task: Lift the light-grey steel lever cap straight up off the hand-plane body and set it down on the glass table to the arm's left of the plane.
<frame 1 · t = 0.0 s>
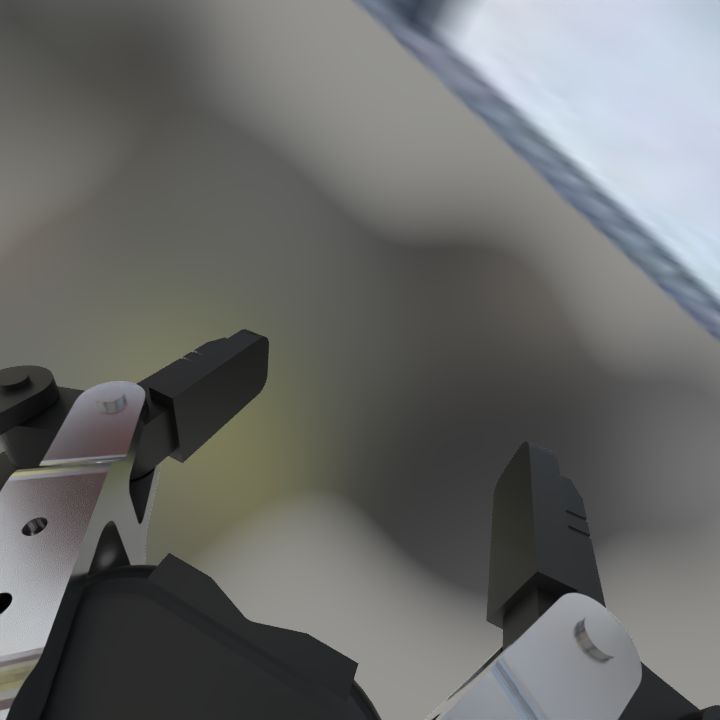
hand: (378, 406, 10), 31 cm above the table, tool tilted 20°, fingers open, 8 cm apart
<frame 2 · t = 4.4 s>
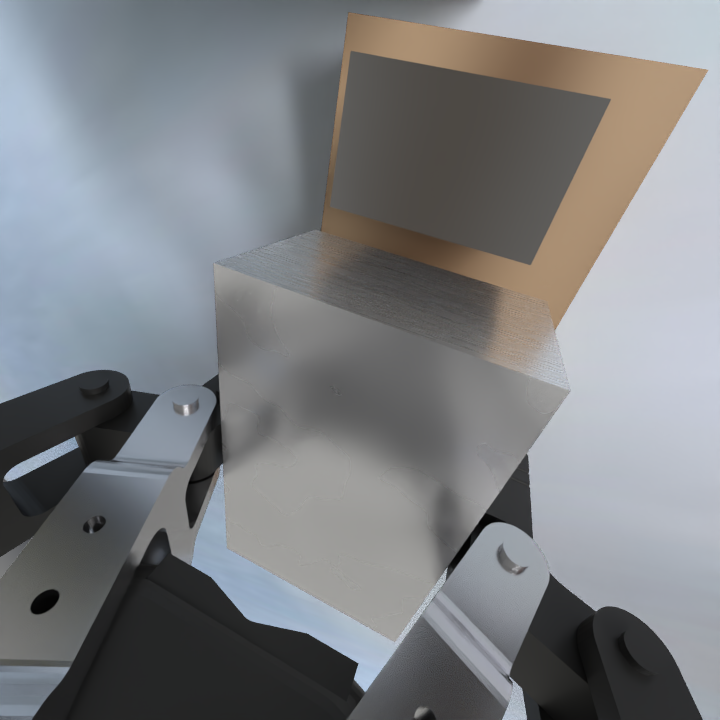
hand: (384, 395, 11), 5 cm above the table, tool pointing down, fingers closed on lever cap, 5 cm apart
plane body: (409, 365, 16), on the table
lever cap: (378, 408, 10), point 6 cm above the table, touching gripper, plane body
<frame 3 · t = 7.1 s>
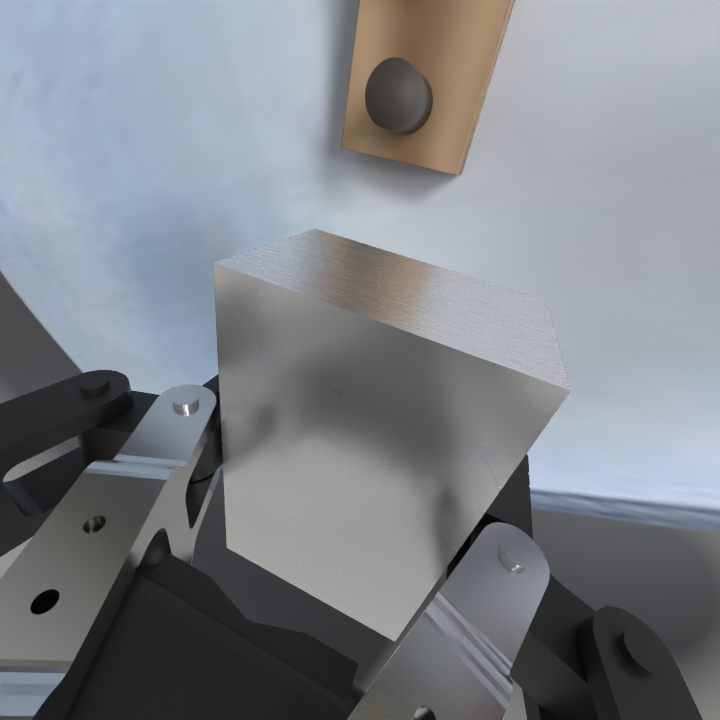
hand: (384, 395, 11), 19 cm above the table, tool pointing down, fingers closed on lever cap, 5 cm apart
lever cap: (378, 407, 10), point 20 cm above the table, touching gripper
when the fingers open (2 cm above the table, at t = 9.7 s): lever cap drops 3 cm, on the table.
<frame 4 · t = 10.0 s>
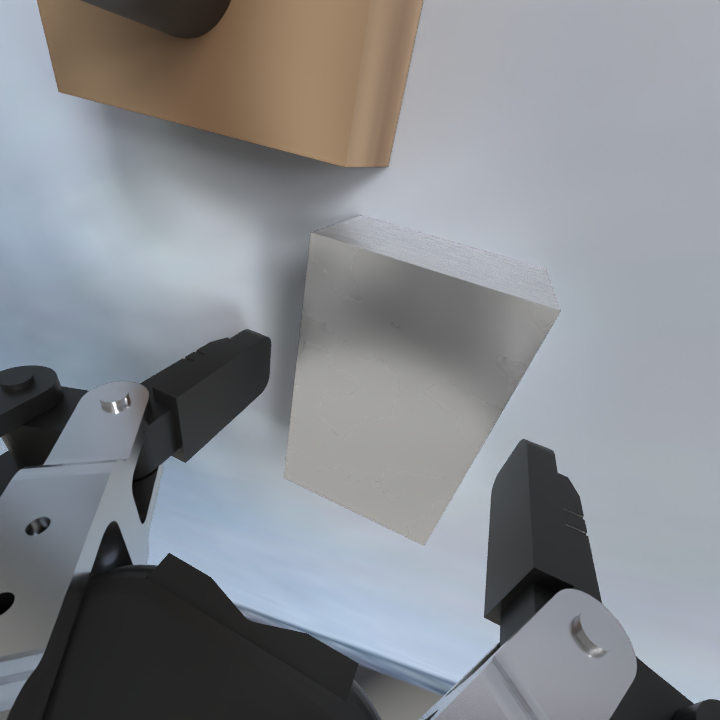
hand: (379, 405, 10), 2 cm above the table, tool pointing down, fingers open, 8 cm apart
lever cap: (408, 362, 12), on the table
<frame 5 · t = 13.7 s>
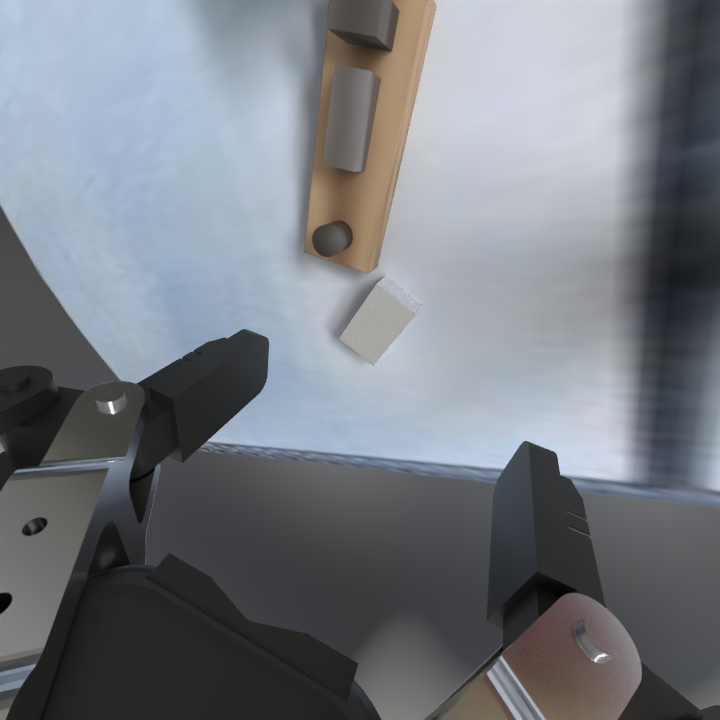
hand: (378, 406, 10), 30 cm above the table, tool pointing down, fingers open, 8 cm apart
plane body: (364, 150, 35), on the table
lever cap: (383, 316, 43), on the table
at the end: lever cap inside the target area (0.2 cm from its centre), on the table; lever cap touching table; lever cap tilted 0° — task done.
